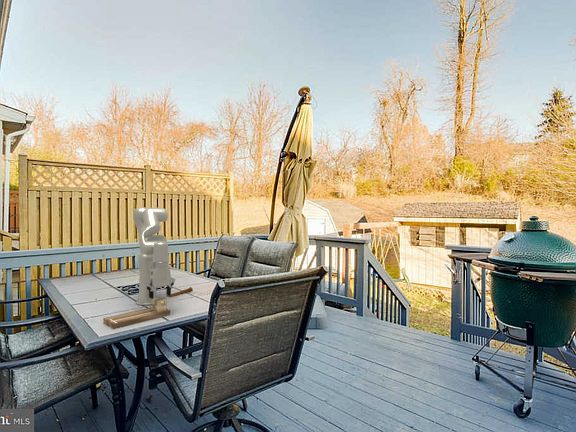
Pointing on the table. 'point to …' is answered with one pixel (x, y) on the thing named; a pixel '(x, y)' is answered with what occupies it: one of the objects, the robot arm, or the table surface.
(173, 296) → the primitive tool
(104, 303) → the table surface
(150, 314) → the board
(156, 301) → the marking gauge
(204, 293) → the table surface
